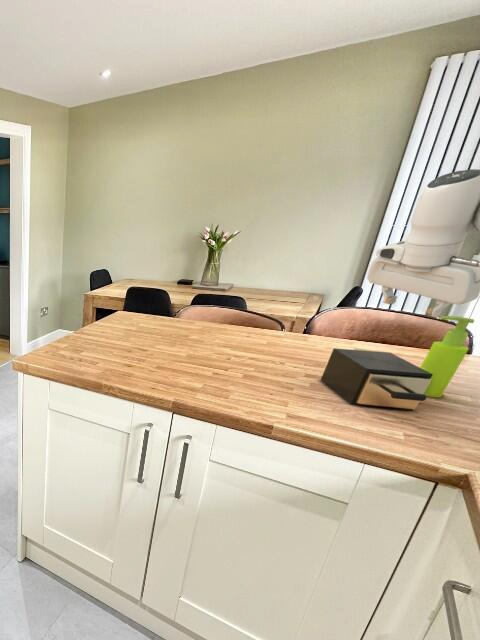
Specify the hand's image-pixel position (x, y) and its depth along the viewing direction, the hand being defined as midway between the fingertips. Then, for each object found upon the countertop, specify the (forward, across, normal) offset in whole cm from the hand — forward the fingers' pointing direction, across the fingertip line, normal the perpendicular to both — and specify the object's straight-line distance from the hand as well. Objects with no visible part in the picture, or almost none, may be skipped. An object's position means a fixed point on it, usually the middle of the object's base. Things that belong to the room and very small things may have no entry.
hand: (409, 309), depth 96 cm
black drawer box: (+20, -3, +10) cm, 22 cm away
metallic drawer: (+18, -7, +11) cm, 23 cm away
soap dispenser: (+24, -4, -6) cm, 26 cm away
